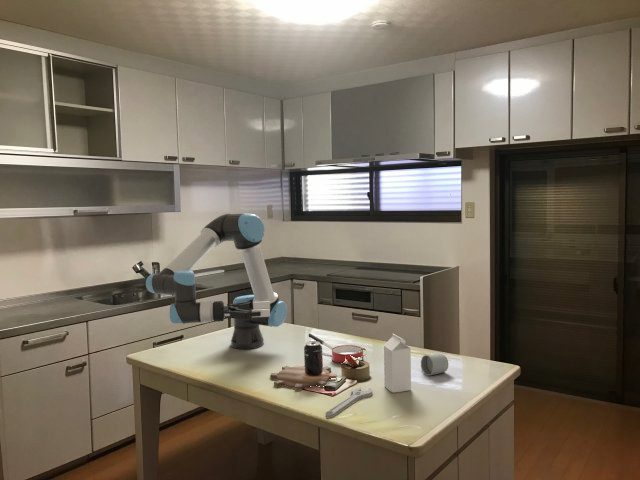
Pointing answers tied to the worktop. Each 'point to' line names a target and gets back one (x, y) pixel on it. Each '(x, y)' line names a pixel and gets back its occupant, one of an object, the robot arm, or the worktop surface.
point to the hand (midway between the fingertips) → (270, 308)
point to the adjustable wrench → (349, 401)
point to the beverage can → (313, 358)
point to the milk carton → (397, 365)
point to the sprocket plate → (300, 377)
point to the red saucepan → (341, 350)
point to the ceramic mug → (434, 364)
